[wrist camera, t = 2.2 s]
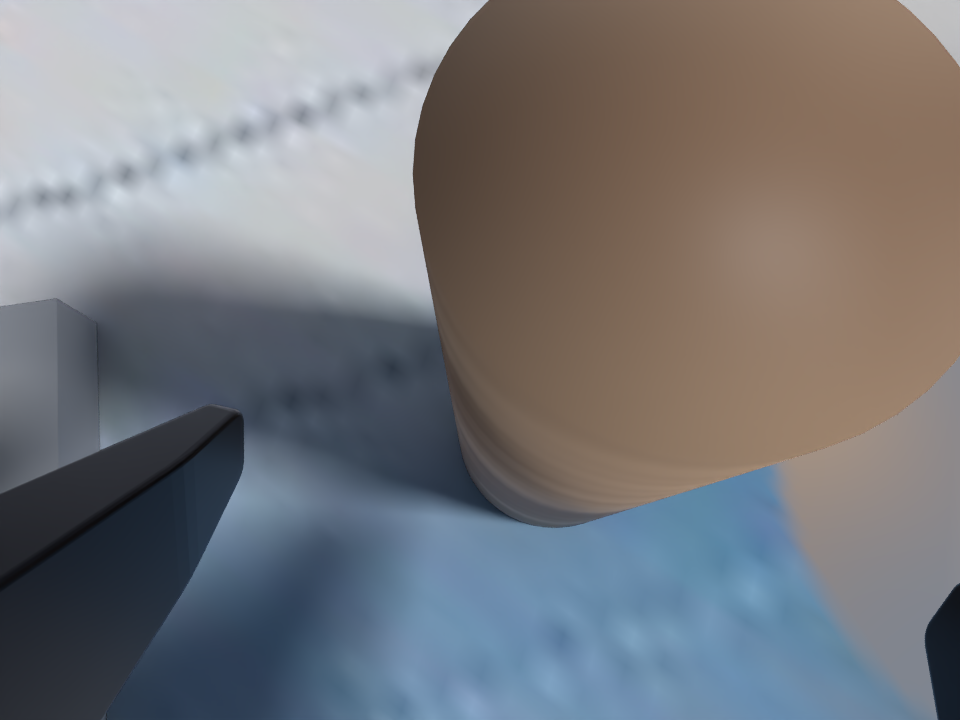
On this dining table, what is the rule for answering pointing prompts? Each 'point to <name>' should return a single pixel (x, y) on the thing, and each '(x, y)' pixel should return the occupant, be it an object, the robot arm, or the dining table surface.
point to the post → (684, 238)
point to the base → (46, 390)
